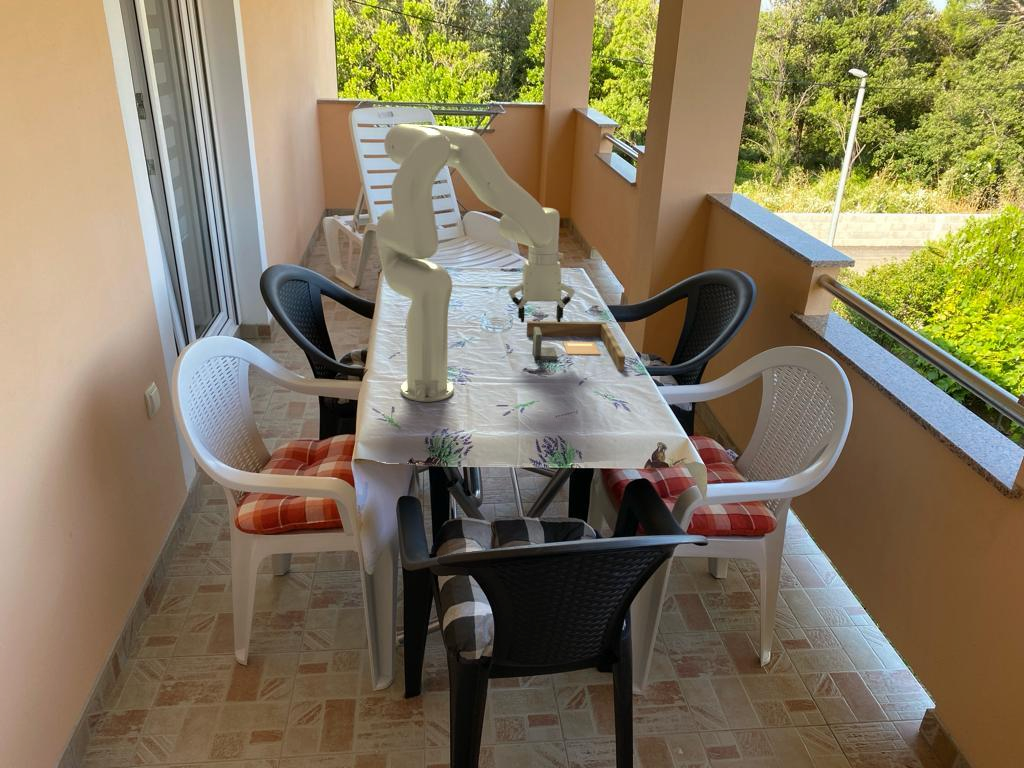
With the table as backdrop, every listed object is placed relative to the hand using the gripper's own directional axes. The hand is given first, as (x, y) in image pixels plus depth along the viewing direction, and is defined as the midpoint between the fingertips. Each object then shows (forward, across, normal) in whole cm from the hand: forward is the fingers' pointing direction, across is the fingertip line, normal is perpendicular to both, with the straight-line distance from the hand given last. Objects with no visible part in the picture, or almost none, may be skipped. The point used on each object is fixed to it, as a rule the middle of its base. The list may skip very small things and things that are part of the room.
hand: (540, 320), depth 196 cm
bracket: (+10, -2, +1) cm, 10 cm away
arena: (+10, -10, -3) cm, 14 cm away
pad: (+10, -12, -5) cm, 17 cm away
